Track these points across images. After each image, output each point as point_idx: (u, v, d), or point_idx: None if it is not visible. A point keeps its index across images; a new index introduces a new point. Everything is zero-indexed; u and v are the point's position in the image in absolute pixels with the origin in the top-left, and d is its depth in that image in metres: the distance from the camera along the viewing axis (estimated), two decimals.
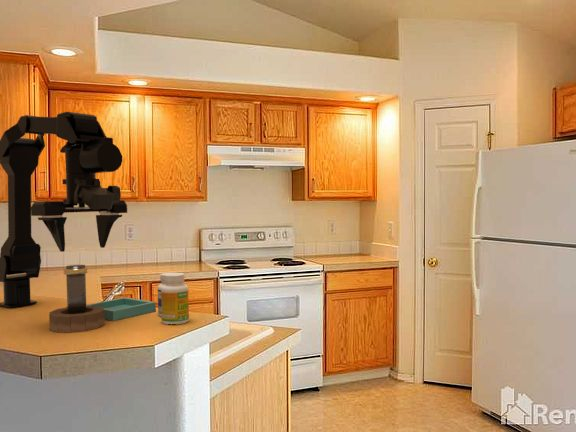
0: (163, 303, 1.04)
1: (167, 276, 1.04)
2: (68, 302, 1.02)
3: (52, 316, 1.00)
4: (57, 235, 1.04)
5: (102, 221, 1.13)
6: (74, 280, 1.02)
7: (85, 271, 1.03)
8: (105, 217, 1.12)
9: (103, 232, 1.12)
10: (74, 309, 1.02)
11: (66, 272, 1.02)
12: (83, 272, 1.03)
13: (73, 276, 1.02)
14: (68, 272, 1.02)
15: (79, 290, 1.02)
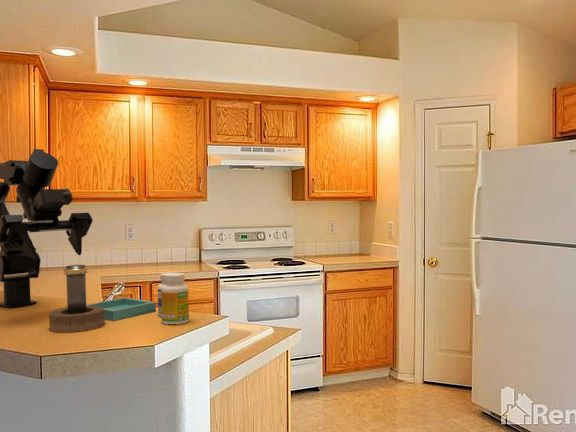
0: (163, 303, 1.04)
1: (167, 276, 1.04)
2: (68, 302, 1.02)
3: (52, 316, 1.00)
4: (25, 244, 1.06)
5: (72, 235, 1.15)
6: (74, 280, 1.02)
7: (85, 271, 1.03)
8: (73, 229, 1.15)
9: (75, 241, 1.14)
10: (74, 309, 1.02)
11: (66, 272, 1.02)
12: (83, 272, 1.03)
13: (73, 276, 1.02)
14: (68, 272, 1.02)
15: (79, 290, 1.02)
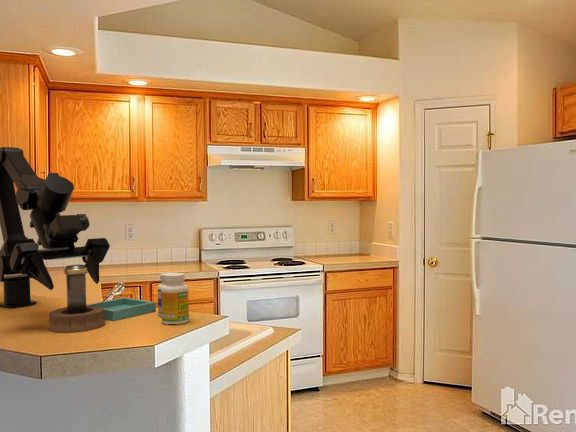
0: (163, 303, 1.04)
1: (167, 276, 1.04)
2: (68, 302, 1.02)
3: (52, 316, 1.00)
4: (41, 274, 1.01)
5: (89, 262, 1.10)
6: (74, 280, 1.02)
7: (85, 271, 1.03)
8: (90, 256, 1.10)
9: (93, 269, 1.09)
10: (74, 309, 1.02)
11: (66, 272, 1.02)
12: (83, 272, 1.03)
13: (73, 276, 1.02)
14: (68, 271, 1.02)
15: (79, 290, 1.02)
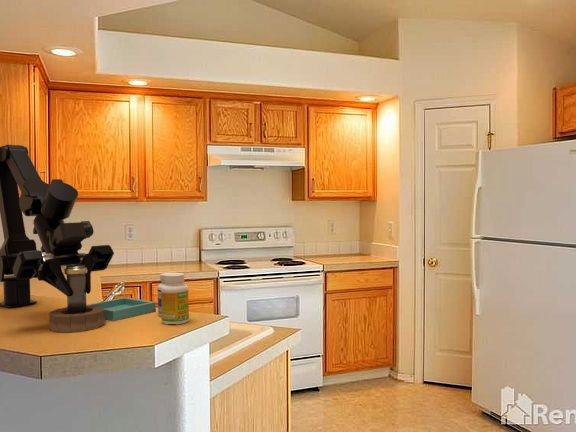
0: (163, 303, 1.04)
1: (167, 276, 1.04)
2: (68, 302, 1.02)
3: (52, 316, 1.00)
4: (58, 281, 1.02)
5: None
6: (74, 280, 1.02)
7: (85, 271, 1.03)
8: None
9: None
10: (74, 309, 1.02)
11: (66, 272, 1.02)
12: (83, 272, 1.03)
13: (73, 276, 1.02)
14: (68, 272, 1.02)
15: (79, 290, 1.02)
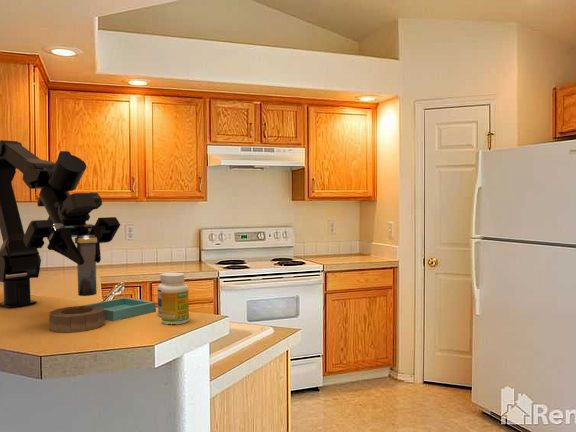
0: (163, 303, 1.04)
1: (167, 276, 1.04)
2: (79, 270, 1.04)
3: (52, 316, 1.00)
4: (70, 250, 1.04)
5: None
6: (85, 249, 1.04)
7: (95, 240, 1.05)
8: None
9: None
10: (85, 277, 1.04)
11: (77, 241, 1.04)
12: (94, 241, 1.05)
13: (84, 245, 1.04)
14: (79, 240, 1.04)
15: (90, 259, 1.04)
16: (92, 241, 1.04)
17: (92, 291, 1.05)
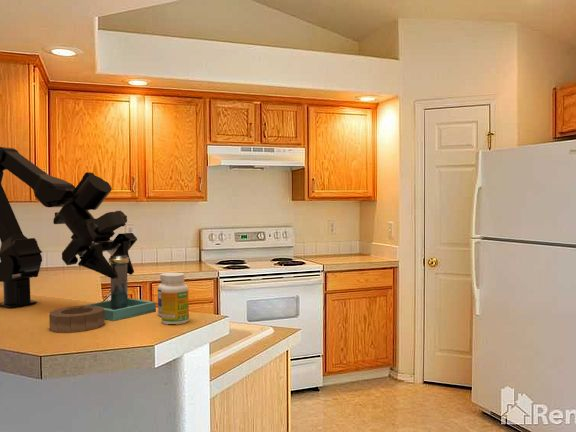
0: (163, 303, 1.04)
1: (167, 276, 1.04)
2: (114, 288, 1.14)
3: (52, 316, 1.00)
4: (103, 265, 1.11)
5: None
6: (121, 269, 1.14)
7: (128, 260, 1.15)
8: (118, 250, 1.19)
9: None
10: (120, 294, 1.14)
11: (114, 261, 1.13)
12: (128, 261, 1.15)
13: (120, 265, 1.14)
14: (116, 261, 1.13)
15: (124, 277, 1.14)
16: (127, 261, 1.14)
17: (125, 307, 1.15)
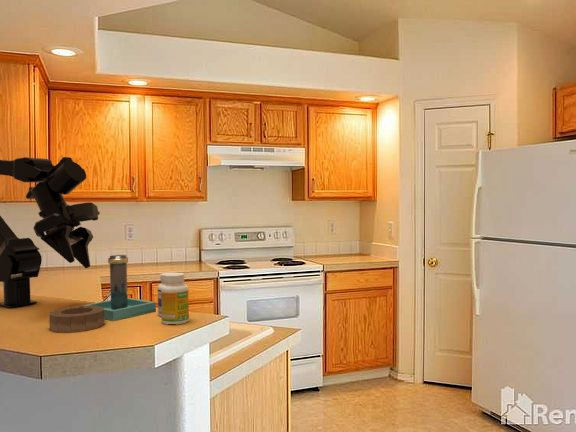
0: (163, 303, 1.04)
1: (167, 276, 1.04)
2: (114, 289, 1.14)
3: (52, 316, 1.00)
4: (65, 246, 1.12)
5: (77, 247, 1.23)
6: (120, 269, 1.14)
7: None
8: (80, 242, 1.23)
9: (84, 254, 1.22)
10: (120, 294, 1.14)
11: (113, 261, 1.13)
12: (127, 261, 1.15)
13: (119, 265, 1.13)
14: (115, 261, 1.13)
15: (124, 277, 1.14)
16: (126, 261, 1.14)
17: (125, 307, 1.15)
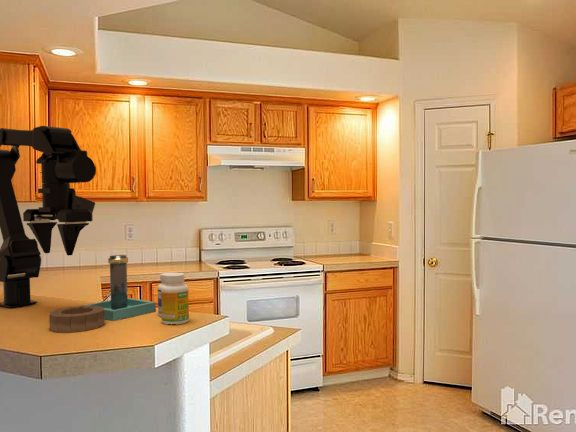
0: (163, 303, 1.04)
1: (167, 276, 1.04)
2: (114, 288, 1.14)
3: (52, 316, 1.00)
4: (74, 240, 1.13)
5: (44, 228, 1.19)
6: (120, 269, 1.14)
7: None
8: (47, 224, 1.20)
9: (48, 238, 1.19)
10: (120, 294, 1.14)
11: (113, 261, 1.13)
12: (127, 261, 1.15)
13: (119, 265, 1.14)
14: (115, 261, 1.13)
15: (124, 277, 1.14)
16: (126, 261, 1.14)
17: (125, 307, 1.15)
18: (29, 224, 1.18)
